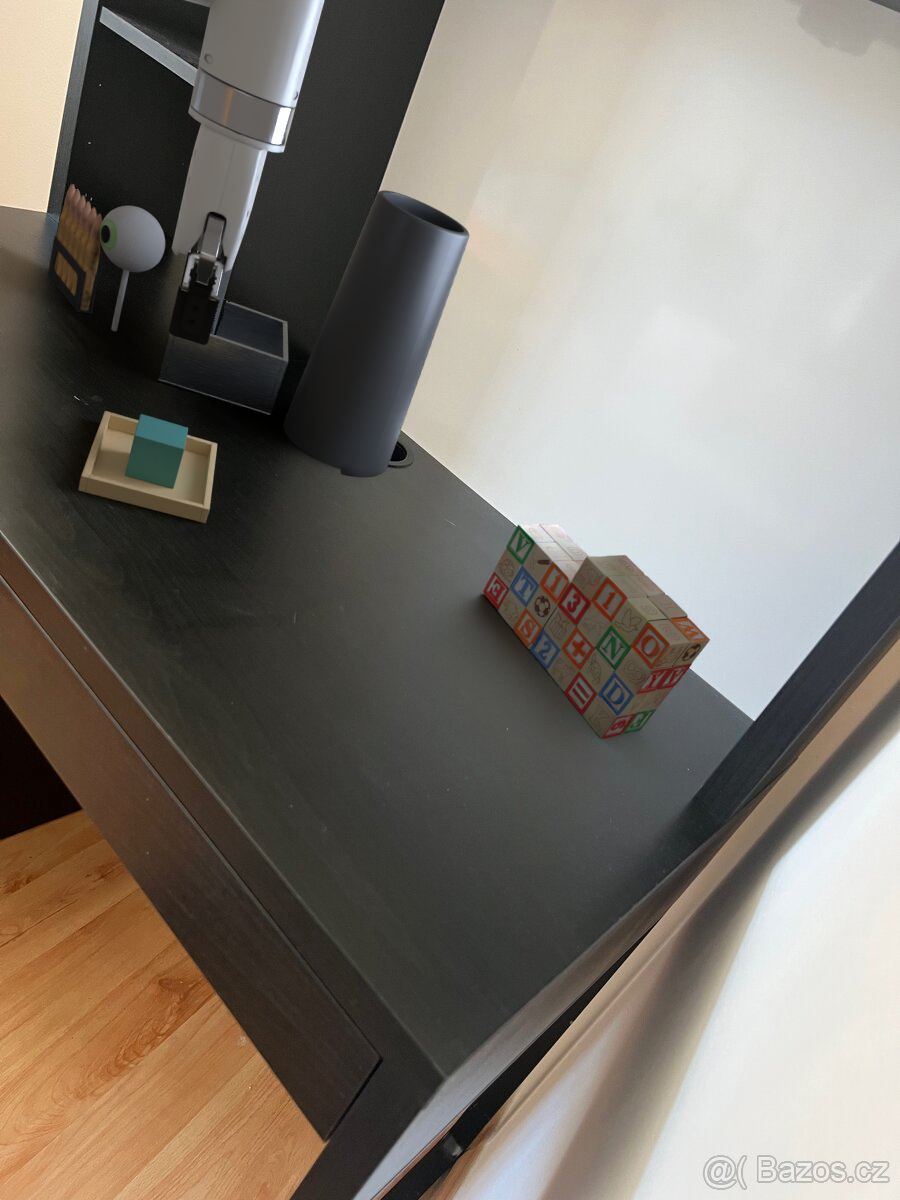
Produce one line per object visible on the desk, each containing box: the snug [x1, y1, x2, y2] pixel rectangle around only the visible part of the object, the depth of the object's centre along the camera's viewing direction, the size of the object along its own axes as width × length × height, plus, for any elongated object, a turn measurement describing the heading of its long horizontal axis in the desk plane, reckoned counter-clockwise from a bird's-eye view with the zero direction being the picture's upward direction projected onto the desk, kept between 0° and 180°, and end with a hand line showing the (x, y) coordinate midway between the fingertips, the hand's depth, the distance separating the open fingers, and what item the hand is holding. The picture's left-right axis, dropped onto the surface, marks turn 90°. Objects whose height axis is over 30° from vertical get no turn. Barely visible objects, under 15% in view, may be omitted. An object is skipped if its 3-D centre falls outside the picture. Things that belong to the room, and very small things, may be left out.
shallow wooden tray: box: [78, 410, 218, 524], centre depth 82 cm, size 11×13×2 cm
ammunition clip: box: [47, 183, 103, 315], centre depth 105 cm, size 11×2×12 cm, turn 39°
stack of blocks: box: [482, 523, 711, 740], centre depth 84 cm, size 21×6×12 cm, turn 34°
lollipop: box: [100, 205, 166, 332], centre depth 101 cm, size 7×7×15 cm
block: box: [125, 413, 189, 489], centre depth 81 cm, size 4×4×4 cm
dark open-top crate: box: [157, 296, 289, 418], centre depth 103 cm, size 13×13×8 cm
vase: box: [282, 189, 470, 477], centre depth 97 cm, size 14×14×29 cm
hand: (192, 318), depth 75 cm, fingers open, 9 cm apart
